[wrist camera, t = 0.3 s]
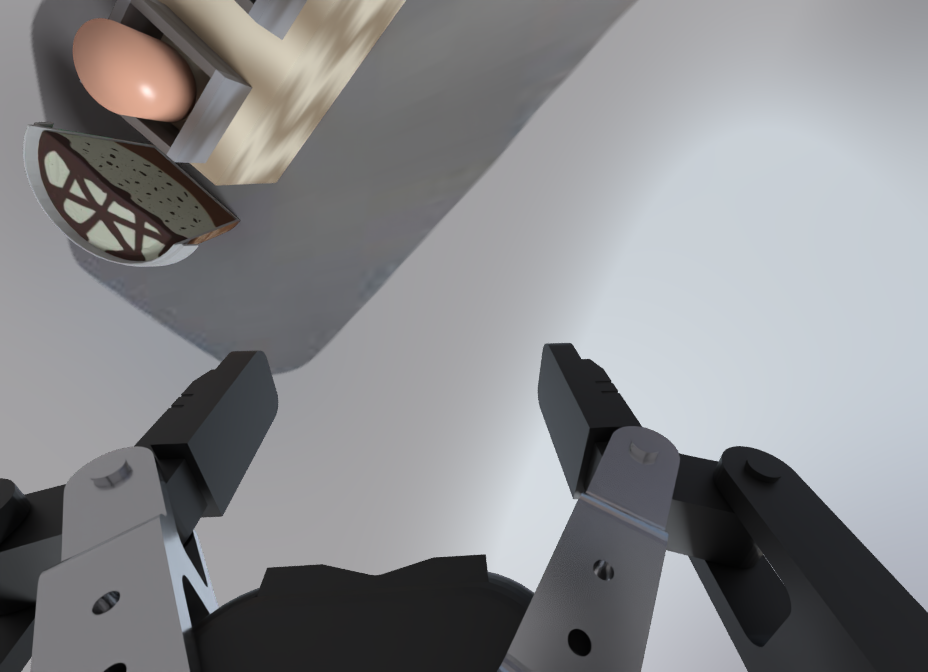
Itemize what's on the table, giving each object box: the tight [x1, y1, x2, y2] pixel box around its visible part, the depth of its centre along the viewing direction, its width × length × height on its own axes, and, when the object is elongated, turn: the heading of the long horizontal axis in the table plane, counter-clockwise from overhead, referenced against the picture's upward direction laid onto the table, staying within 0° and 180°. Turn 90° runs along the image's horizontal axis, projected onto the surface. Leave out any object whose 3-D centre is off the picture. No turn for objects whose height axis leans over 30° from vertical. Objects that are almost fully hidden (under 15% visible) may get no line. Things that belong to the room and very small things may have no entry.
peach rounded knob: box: [73, 18, 197, 123], centre depth 22 cm, size 4×4×3 cm
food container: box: [23, 122, 241, 267], centre depth 33 cm, size 12×6×10 cm, turn 44°
